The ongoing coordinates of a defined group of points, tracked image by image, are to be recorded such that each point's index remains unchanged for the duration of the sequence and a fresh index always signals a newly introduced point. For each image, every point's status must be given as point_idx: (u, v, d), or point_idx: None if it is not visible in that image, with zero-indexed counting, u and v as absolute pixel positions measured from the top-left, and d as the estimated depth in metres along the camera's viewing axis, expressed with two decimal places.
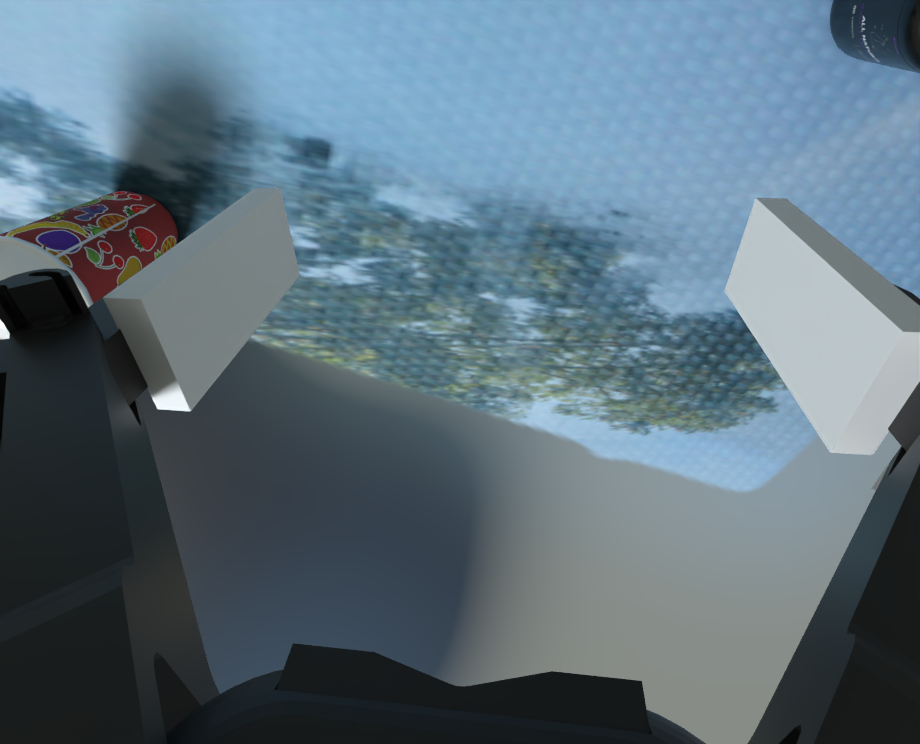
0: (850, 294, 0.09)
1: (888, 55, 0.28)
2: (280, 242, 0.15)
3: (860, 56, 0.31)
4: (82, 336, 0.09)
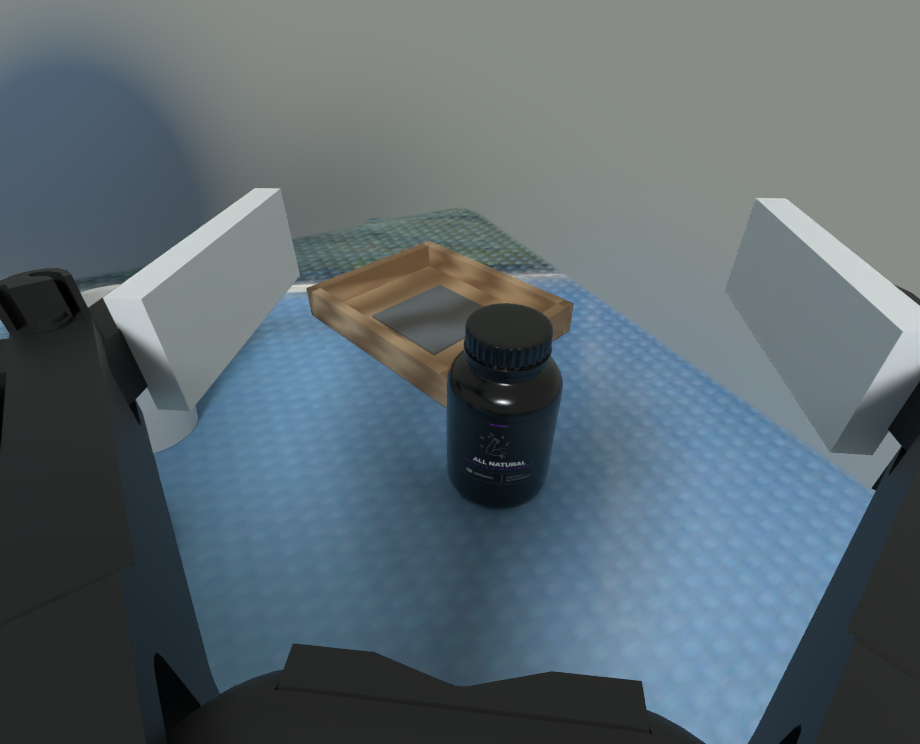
0: (850, 294, 0.09)
1: (510, 440, 0.28)
2: (280, 242, 0.15)
3: (517, 483, 0.30)
4: (82, 336, 0.09)
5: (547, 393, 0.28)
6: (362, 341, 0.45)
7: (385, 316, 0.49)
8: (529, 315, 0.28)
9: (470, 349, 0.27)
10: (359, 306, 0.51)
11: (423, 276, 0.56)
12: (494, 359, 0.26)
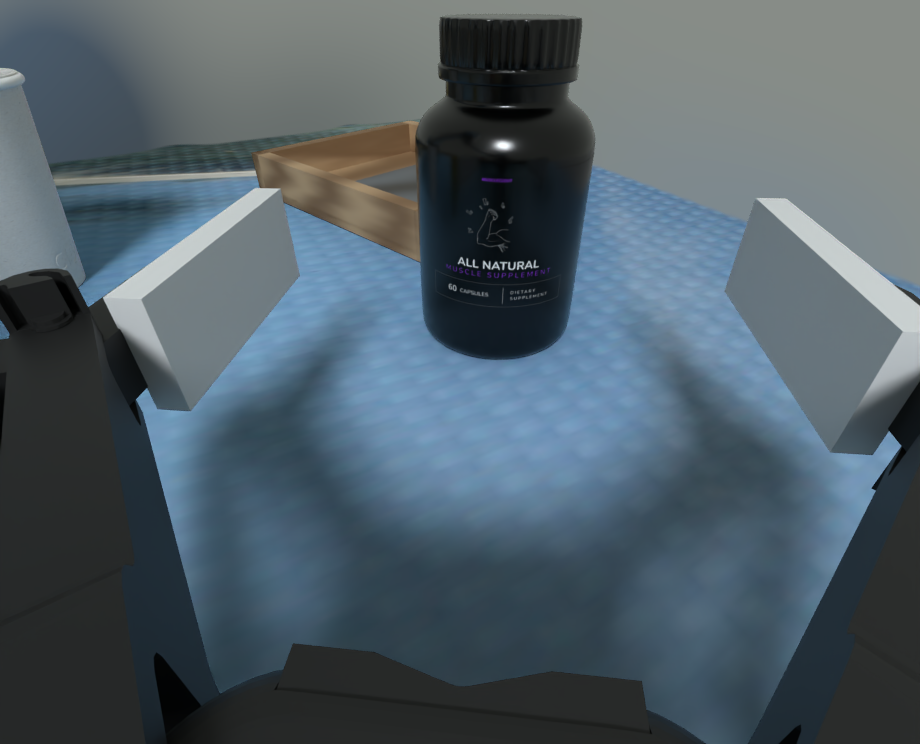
0: (850, 294, 0.09)
1: (514, 213, 0.18)
2: (280, 242, 0.15)
3: (526, 306, 0.20)
4: (82, 336, 0.09)
5: (574, 129, 0.17)
6: (318, 204, 0.35)
7: None
8: (542, 15, 0.18)
9: (448, 54, 0.17)
10: None
11: (402, 158, 0.46)
12: (486, 49, 0.16)
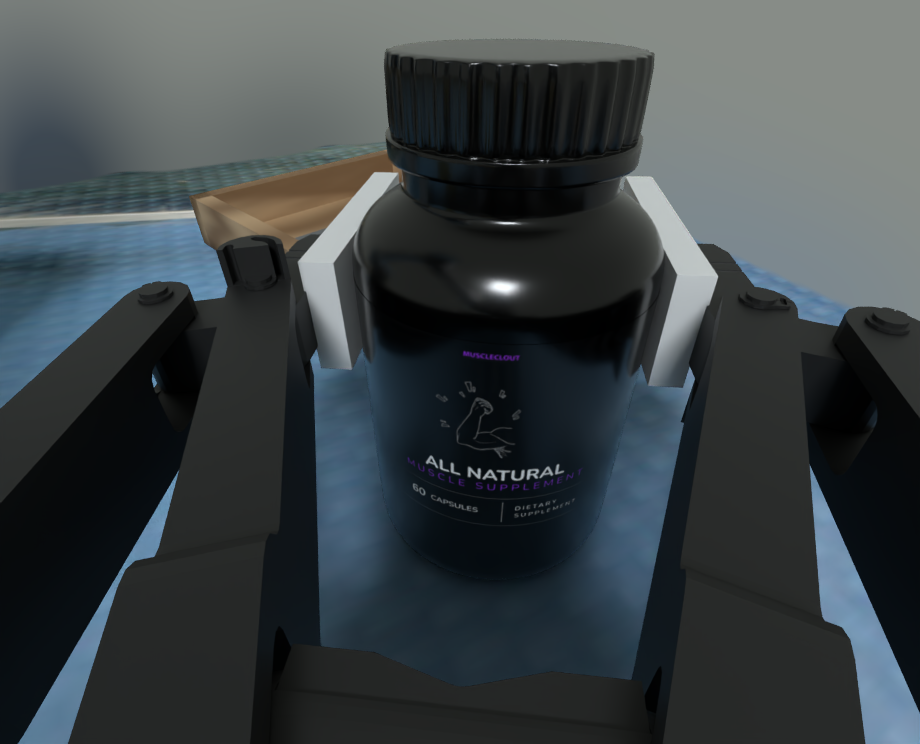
0: None
1: (523, 405, 0.10)
2: None
3: (541, 523, 0.12)
4: (280, 300, 0.09)
5: (636, 259, 0.09)
6: None
7: None
8: (574, 43, 0.10)
9: (398, 120, 0.09)
10: (278, 229, 0.33)
11: None
12: (469, 120, 0.08)
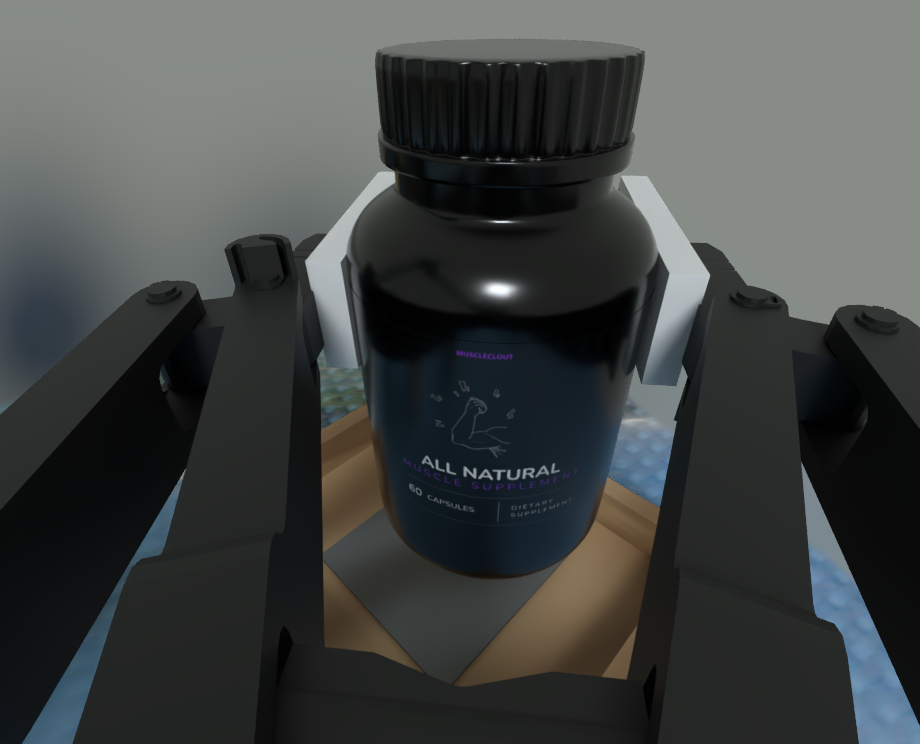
0: None
1: (517, 405, 0.10)
2: None
3: (538, 522, 0.12)
4: (287, 299, 0.09)
5: (629, 257, 0.09)
6: None
7: (345, 558, 0.25)
8: (565, 42, 0.10)
9: (390, 121, 0.09)
10: None
11: None
12: (460, 120, 0.08)
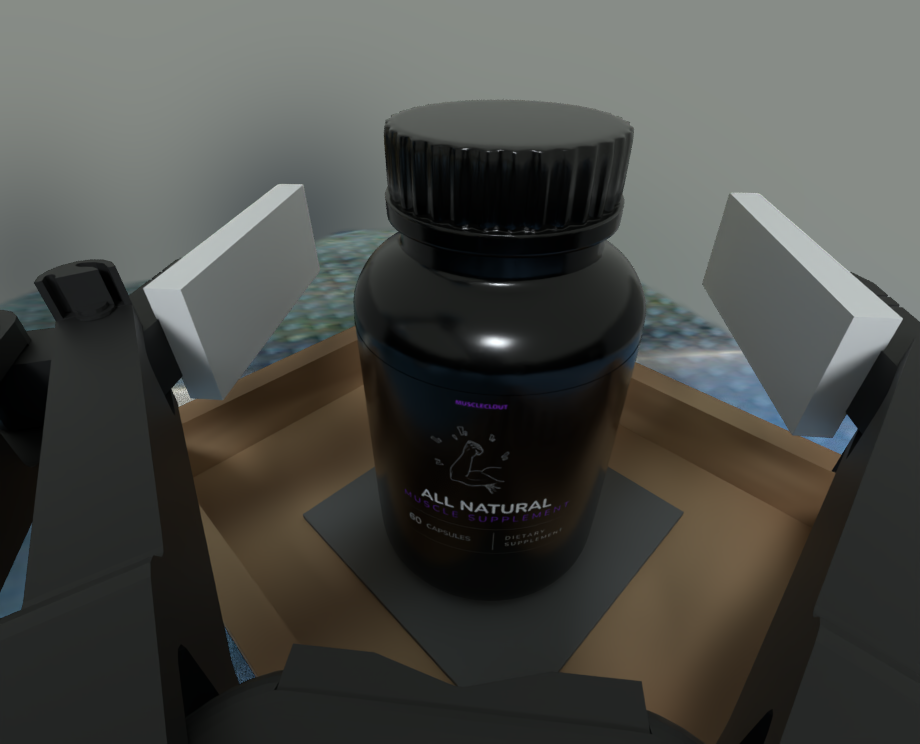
0: (810, 283, 0.10)
1: (512, 448, 0.10)
2: (303, 237, 0.15)
3: (530, 550, 0.13)
4: (123, 326, 0.09)
5: (617, 315, 0.10)
6: (248, 664, 0.13)
7: (340, 519, 0.17)
8: (561, 110, 0.10)
9: (397, 187, 0.10)
10: (274, 472, 0.19)
11: None
12: (461, 197, 0.08)
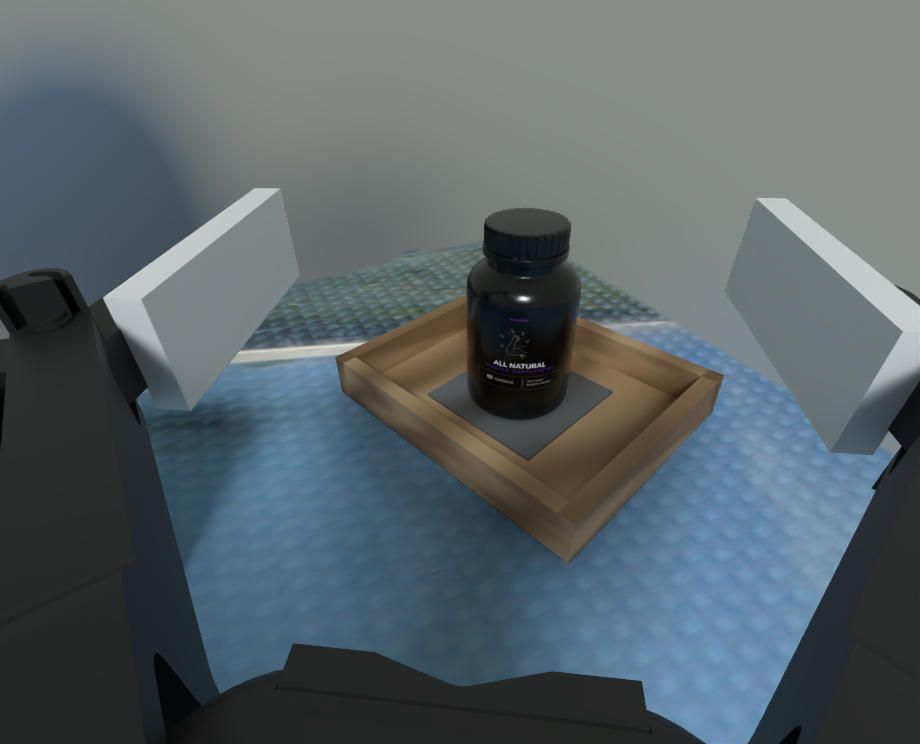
0: (850, 294, 0.09)
1: (530, 337, 0.28)
2: (280, 242, 0.15)
3: (537, 389, 0.31)
4: (82, 336, 0.09)
5: (567, 288, 0.28)
6: (419, 439, 0.31)
7: (446, 395, 0.35)
8: (547, 215, 0.29)
9: (489, 245, 0.28)
10: (407, 378, 0.37)
11: None
12: (513, 249, 0.27)
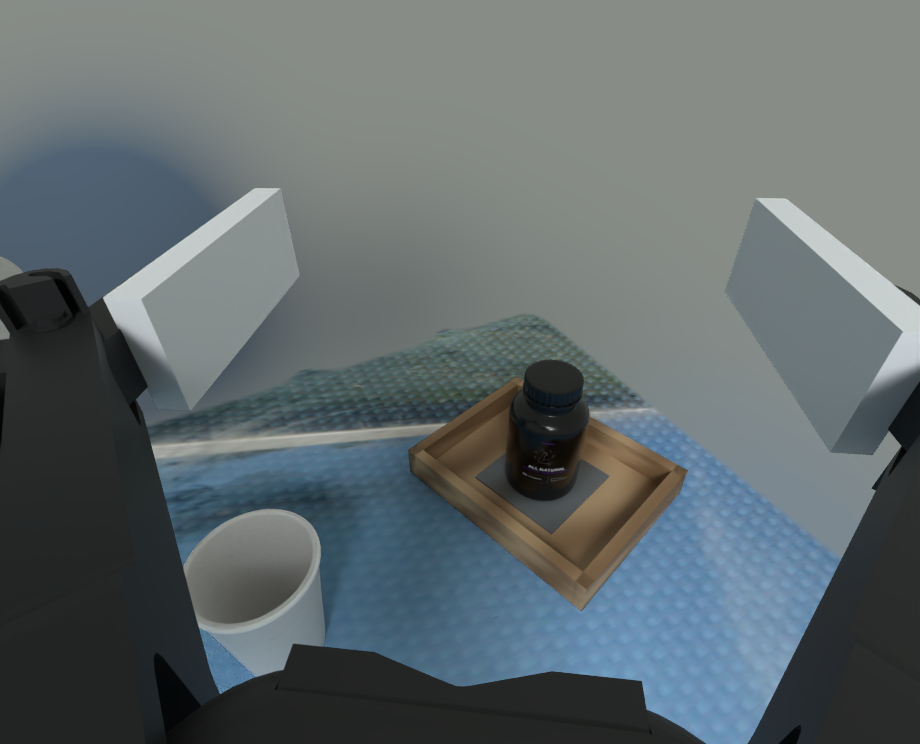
0: (850, 294, 0.09)
1: (555, 454, 0.42)
2: (280, 242, 0.15)
3: (558, 483, 0.44)
4: (82, 336, 0.08)
5: (580, 422, 0.41)
6: (474, 517, 0.44)
7: (489, 478, 0.48)
8: (567, 369, 0.42)
9: (528, 393, 0.41)
10: (458, 462, 0.50)
11: None
12: (546, 400, 0.40)
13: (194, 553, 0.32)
